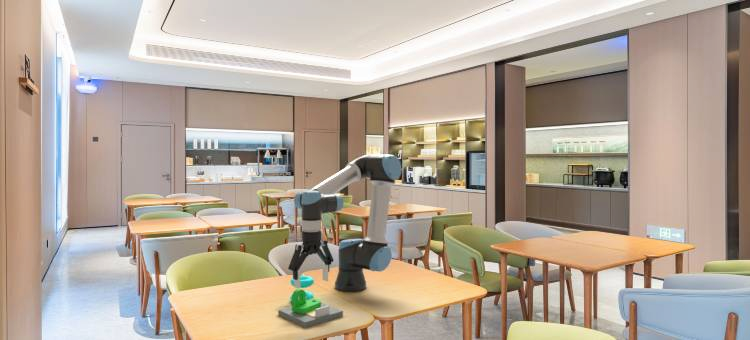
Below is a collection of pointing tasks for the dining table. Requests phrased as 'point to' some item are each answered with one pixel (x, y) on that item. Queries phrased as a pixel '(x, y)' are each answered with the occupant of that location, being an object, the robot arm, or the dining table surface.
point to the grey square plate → (311, 315)
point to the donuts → (304, 285)
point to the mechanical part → (303, 302)
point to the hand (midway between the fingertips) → (311, 284)
